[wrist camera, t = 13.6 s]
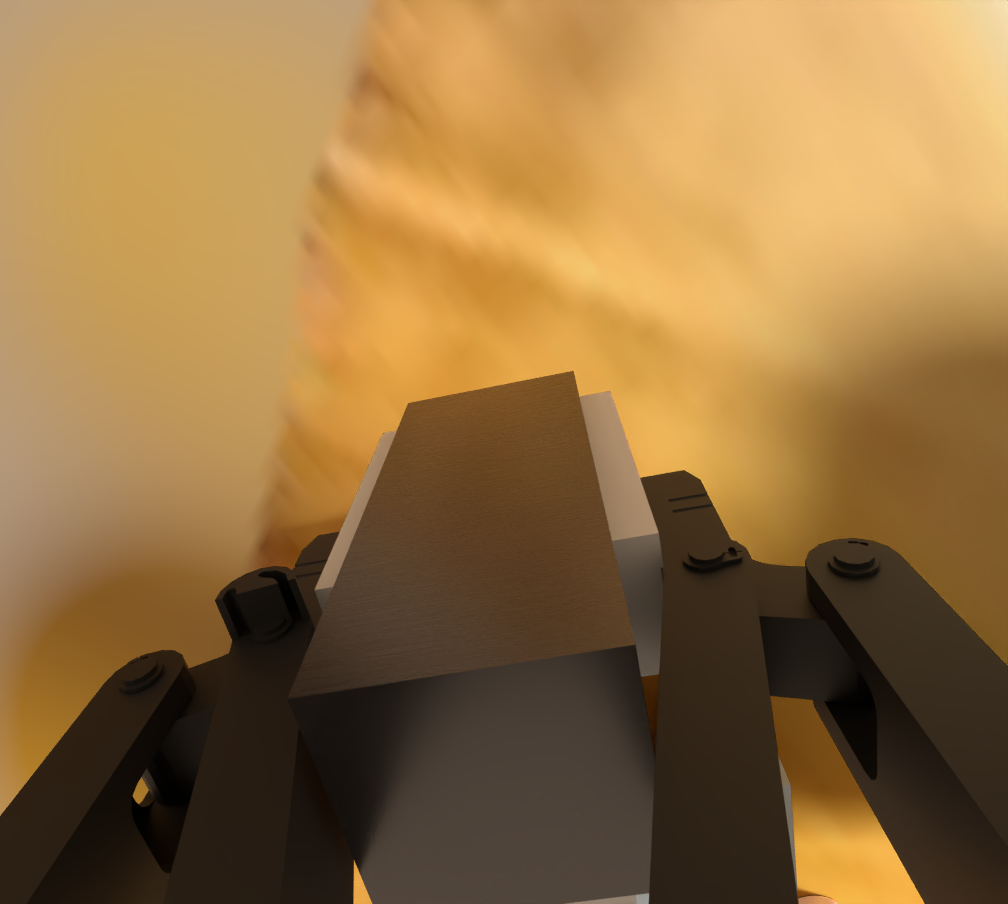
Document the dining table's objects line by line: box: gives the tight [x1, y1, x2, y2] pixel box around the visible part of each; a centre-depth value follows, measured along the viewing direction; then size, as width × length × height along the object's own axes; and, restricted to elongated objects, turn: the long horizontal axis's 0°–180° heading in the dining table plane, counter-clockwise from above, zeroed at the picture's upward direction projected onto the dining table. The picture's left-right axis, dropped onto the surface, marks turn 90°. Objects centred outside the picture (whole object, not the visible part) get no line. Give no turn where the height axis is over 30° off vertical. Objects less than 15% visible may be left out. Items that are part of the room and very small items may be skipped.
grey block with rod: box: [287, 371, 655, 904], centre depth 16 cm, size 8×17×10 cm, turn 12°
